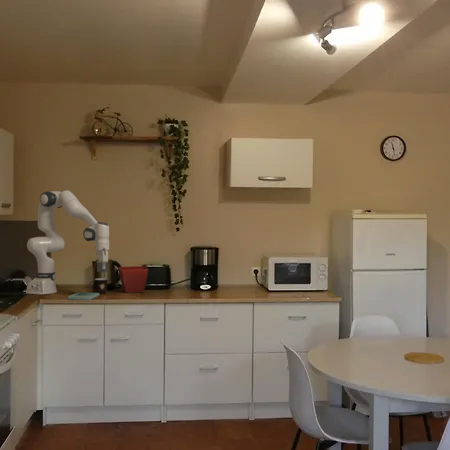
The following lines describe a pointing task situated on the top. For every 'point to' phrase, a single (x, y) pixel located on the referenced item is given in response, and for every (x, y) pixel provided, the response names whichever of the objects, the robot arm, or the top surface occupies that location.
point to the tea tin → (99, 267)
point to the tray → (83, 296)
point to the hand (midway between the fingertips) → (102, 267)
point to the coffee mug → (100, 285)
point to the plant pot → (133, 278)
